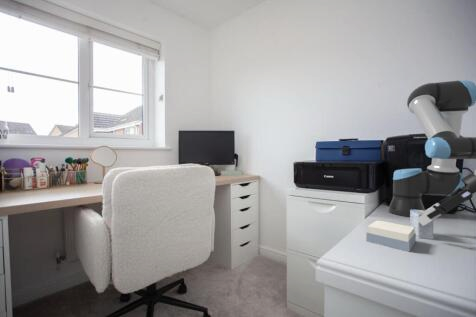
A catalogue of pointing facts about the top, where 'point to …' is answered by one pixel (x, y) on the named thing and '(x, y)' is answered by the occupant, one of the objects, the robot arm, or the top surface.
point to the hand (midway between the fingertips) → (422, 218)
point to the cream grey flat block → (391, 235)
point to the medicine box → (421, 230)
